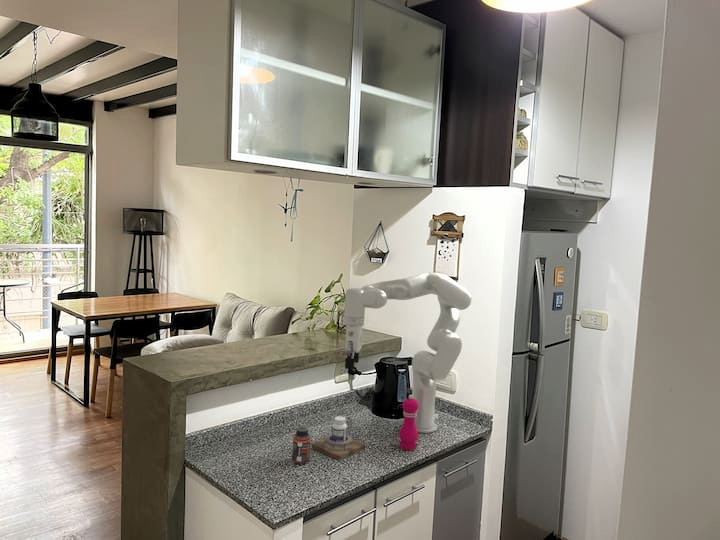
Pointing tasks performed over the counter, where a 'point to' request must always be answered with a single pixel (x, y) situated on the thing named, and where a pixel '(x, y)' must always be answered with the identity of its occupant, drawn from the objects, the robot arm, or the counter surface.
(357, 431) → the counter surface
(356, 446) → the hub board
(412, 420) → the pepper mill
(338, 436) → the pill bottle
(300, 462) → the supplement bottle
